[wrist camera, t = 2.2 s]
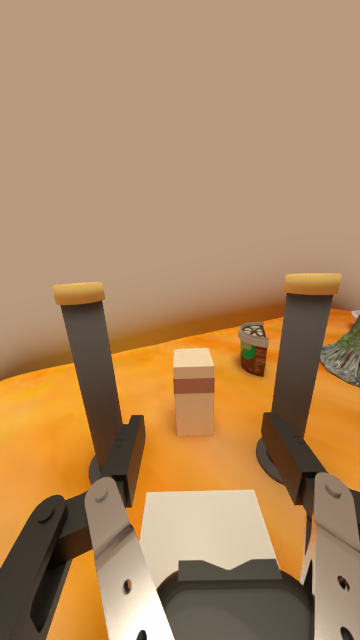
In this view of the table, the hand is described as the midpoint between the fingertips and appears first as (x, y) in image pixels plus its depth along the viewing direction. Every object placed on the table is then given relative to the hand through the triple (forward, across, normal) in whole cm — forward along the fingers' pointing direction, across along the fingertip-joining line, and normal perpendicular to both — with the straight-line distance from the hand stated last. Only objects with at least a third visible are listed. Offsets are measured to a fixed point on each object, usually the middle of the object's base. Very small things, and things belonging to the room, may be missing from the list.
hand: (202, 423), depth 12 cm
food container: (+31, -16, +14) cm, 38 cm away
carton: (+14, 0, +15) cm, 21 cm away
